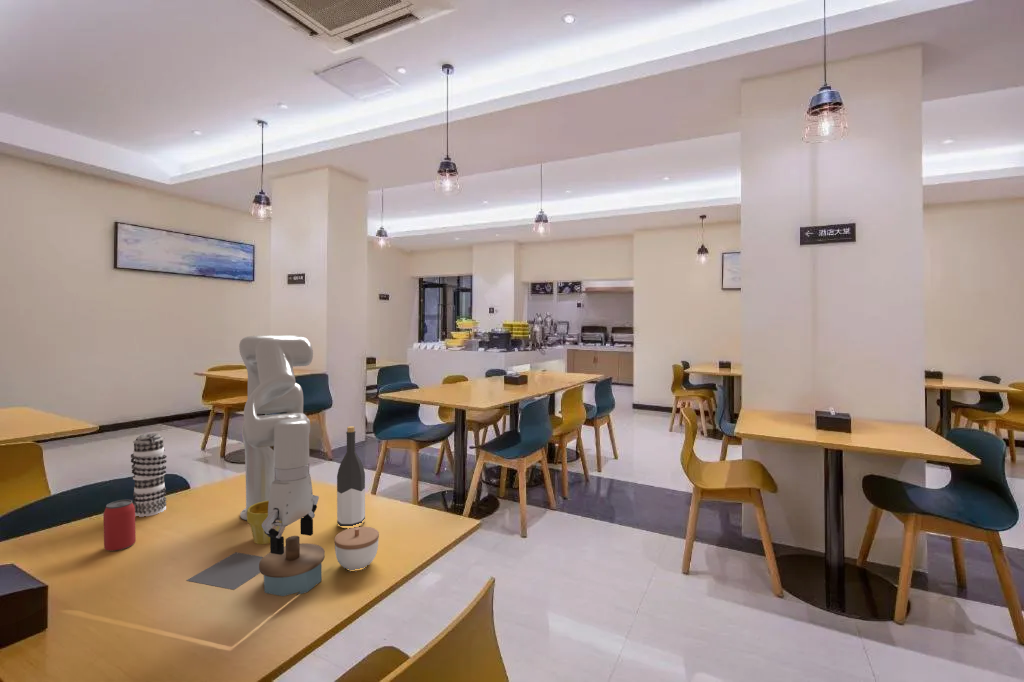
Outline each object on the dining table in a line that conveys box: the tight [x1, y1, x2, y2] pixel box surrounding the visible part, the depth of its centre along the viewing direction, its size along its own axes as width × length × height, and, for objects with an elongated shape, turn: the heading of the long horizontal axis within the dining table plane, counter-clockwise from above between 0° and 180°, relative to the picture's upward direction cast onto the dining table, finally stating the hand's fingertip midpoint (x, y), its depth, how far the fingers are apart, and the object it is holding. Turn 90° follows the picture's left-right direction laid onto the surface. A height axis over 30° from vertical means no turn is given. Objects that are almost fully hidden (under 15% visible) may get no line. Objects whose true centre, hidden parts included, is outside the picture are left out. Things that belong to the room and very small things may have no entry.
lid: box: [259, 535, 326, 578], centre depth 109 cm, size 14×14×6 cm
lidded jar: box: [334, 526, 380, 570], centre depth 117 cm, size 11×11×9 cm
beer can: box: [102, 499, 137, 552], centre depth 126 cm, size 7×7×12 cm
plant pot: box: [246, 500, 282, 545], centre depth 130 cm, size 10×10×10 cm
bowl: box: [263, 563, 323, 597], centre depth 109 cm, size 12×12×5 cm
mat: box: [186, 552, 264, 591], centre depth 114 cm, size 14×14×1 cm
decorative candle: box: [130, 433, 167, 518], centre depth 150 cm, size 9×9×25 cm
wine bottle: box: [336, 425, 366, 526], centre depth 141 cm, size 8×8×30 cm
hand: (292, 543), depth 109 cm, fingers open, 9 cm apart
